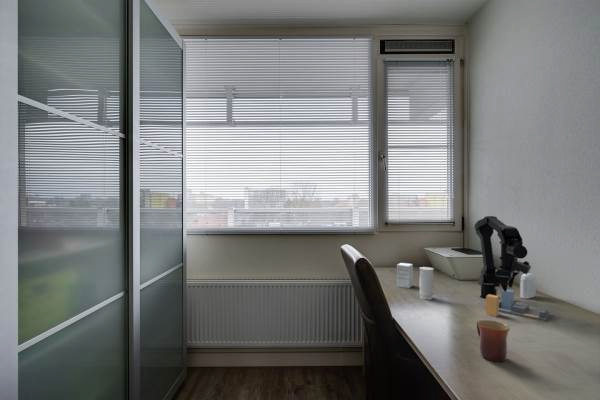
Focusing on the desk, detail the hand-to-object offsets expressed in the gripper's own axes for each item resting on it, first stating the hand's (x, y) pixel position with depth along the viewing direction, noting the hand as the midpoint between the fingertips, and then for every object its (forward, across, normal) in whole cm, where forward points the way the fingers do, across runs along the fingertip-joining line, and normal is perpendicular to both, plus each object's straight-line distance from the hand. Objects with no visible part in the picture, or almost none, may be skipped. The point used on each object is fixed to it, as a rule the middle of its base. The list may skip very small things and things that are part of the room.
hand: (507, 289), depth 153 cm
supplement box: (+10, +5, +53) cm, 54 cm away
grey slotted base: (+9, 0, -5) cm, 11 cm away
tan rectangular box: (+10, -12, +3) cm, 15 cm away
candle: (+10, -9, +34) cm, 37 cm away
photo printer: (+10, +31, -2) cm, 33 cm away
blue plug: (+9, 0, 0) cm, 9 cm away
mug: (+10, -56, -8) cm, 57 cm away
